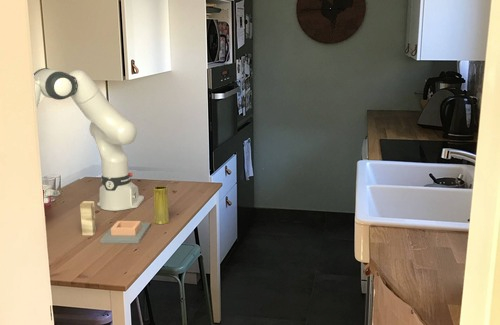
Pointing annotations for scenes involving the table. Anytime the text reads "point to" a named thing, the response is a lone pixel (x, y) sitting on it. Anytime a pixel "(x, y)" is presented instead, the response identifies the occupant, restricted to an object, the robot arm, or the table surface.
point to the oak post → (88, 218)
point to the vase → (161, 205)
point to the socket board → (126, 232)
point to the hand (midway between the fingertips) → (53, 196)
